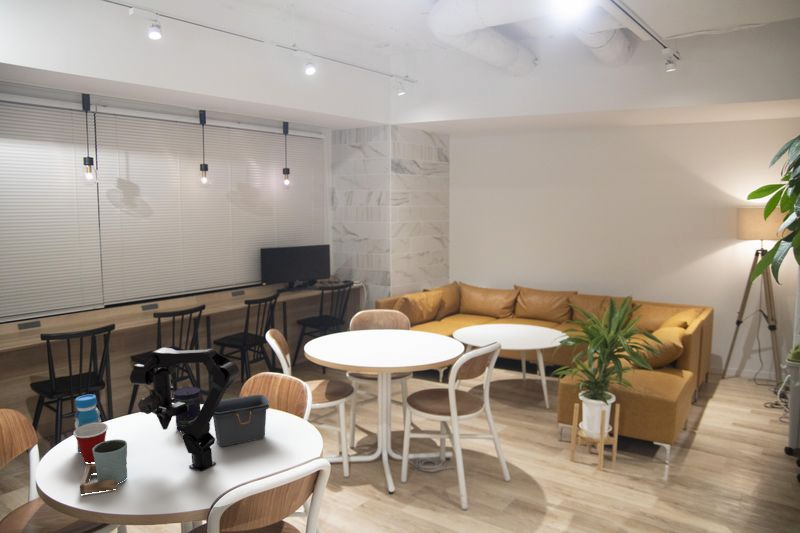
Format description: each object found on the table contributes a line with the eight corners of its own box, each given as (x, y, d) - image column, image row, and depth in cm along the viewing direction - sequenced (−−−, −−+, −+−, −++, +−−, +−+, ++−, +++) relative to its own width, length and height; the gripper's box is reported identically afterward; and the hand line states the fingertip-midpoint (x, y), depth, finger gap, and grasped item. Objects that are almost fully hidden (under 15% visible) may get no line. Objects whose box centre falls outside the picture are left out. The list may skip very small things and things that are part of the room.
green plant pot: (121, 470, 201) (118, 436, 199) (135, 479, 194) (132, 444, 193) (90, 482, 193) (86, 447, 192) (103, 491, 187) (100, 455, 185)
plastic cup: (72, 470, 202) (69, 436, 200) (80, 457, 212) (77, 424, 210) (107, 465, 205) (104, 432, 203) (113, 452, 215) (110, 420, 213)
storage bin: (264, 427, 235) (262, 392, 234) (275, 441, 222) (273, 404, 220) (208, 438, 225) (206, 402, 224) (217, 454, 212) (214, 415, 210)
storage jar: (175, 425, 240) (172, 389, 238) (200, 420, 244) (198, 385, 242) (177, 433, 231) (174, 396, 229) (203, 429, 235) (201, 392, 233)
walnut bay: (121, 469, 201) (120, 460, 201) (116, 490, 187) (115, 480, 187) (87, 475, 198) (86, 465, 197) (80, 496, 184) (79, 486, 183)
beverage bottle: (90, 456, 212) (85, 402, 210) (71, 453, 215) (66, 400, 213) (108, 446, 220) (104, 394, 218) (90, 443, 223) (86, 392, 220)
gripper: (123, 388, 201) (127, 432, 203) (159, 397, 191) (162, 443, 193) (152, 378, 210) (155, 421, 212) (187, 387, 201) (190, 431, 202)
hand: (165, 429), depth 205 cm, fingers closed
